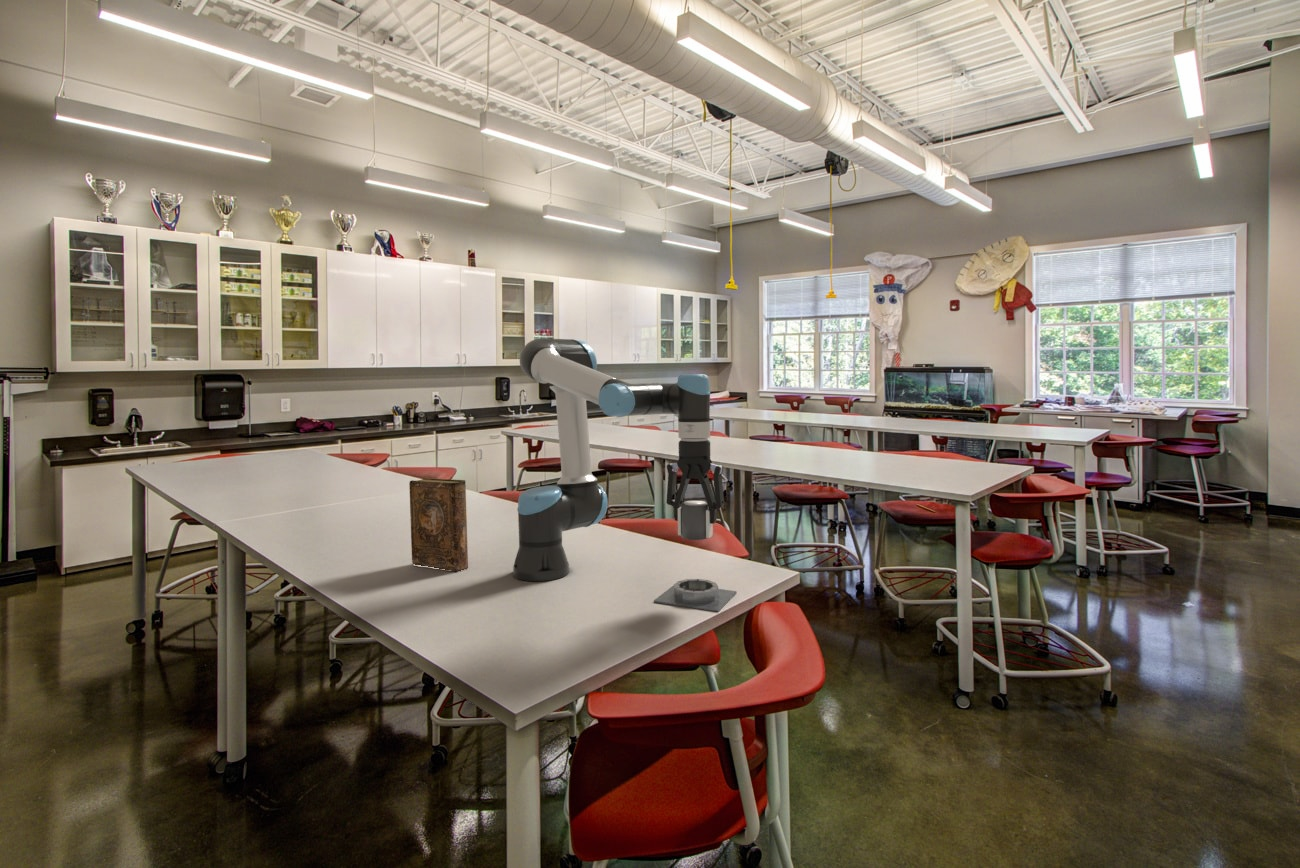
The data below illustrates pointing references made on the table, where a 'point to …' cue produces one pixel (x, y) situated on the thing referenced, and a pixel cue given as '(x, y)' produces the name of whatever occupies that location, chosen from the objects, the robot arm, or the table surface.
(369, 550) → the table surface
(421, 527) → the book
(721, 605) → the barrel mount
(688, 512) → the lens barrel
